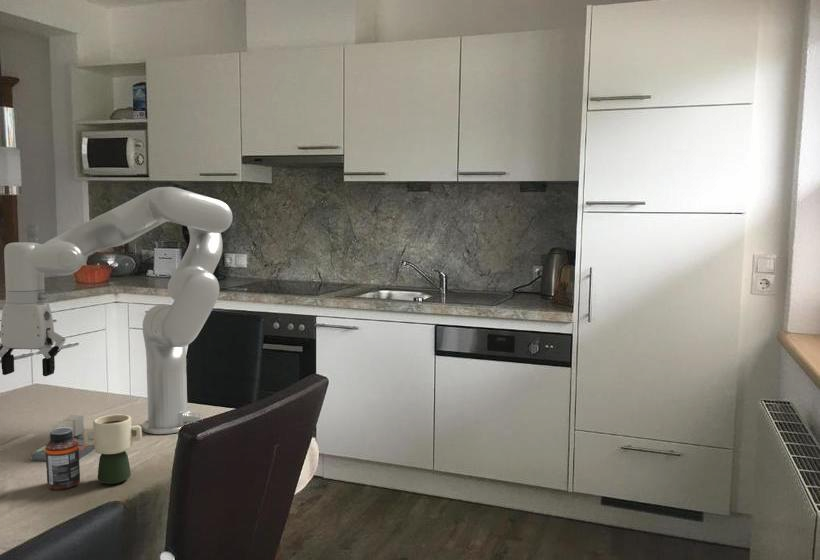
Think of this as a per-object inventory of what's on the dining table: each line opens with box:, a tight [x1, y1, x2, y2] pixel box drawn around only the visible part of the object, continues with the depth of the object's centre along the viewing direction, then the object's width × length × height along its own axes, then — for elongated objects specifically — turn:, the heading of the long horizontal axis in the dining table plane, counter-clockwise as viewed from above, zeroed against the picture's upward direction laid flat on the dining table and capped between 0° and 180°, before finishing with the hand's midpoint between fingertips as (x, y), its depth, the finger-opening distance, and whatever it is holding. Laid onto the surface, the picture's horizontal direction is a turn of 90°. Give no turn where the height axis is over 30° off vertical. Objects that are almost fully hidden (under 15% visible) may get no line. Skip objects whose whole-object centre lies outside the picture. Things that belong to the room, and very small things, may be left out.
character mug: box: [83, 413, 143, 485], centre depth 138 cm, size 11×7×13 cm, turn 108°
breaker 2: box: [62, 414, 85, 436], centre depth 162 cm, size 3×3×4 cm
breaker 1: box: [51, 420, 73, 433], centre depth 158 cm, size 3×3×4 cm
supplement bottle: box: [45, 428, 81, 491], centre depth 136 cm, size 6×6×11 cm
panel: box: [30, 432, 95, 462], centre depth 158 cm, size 10×16×2 cm, turn 176°
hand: (28, 374), depth 152 cm, fingers open, 9 cm apart
